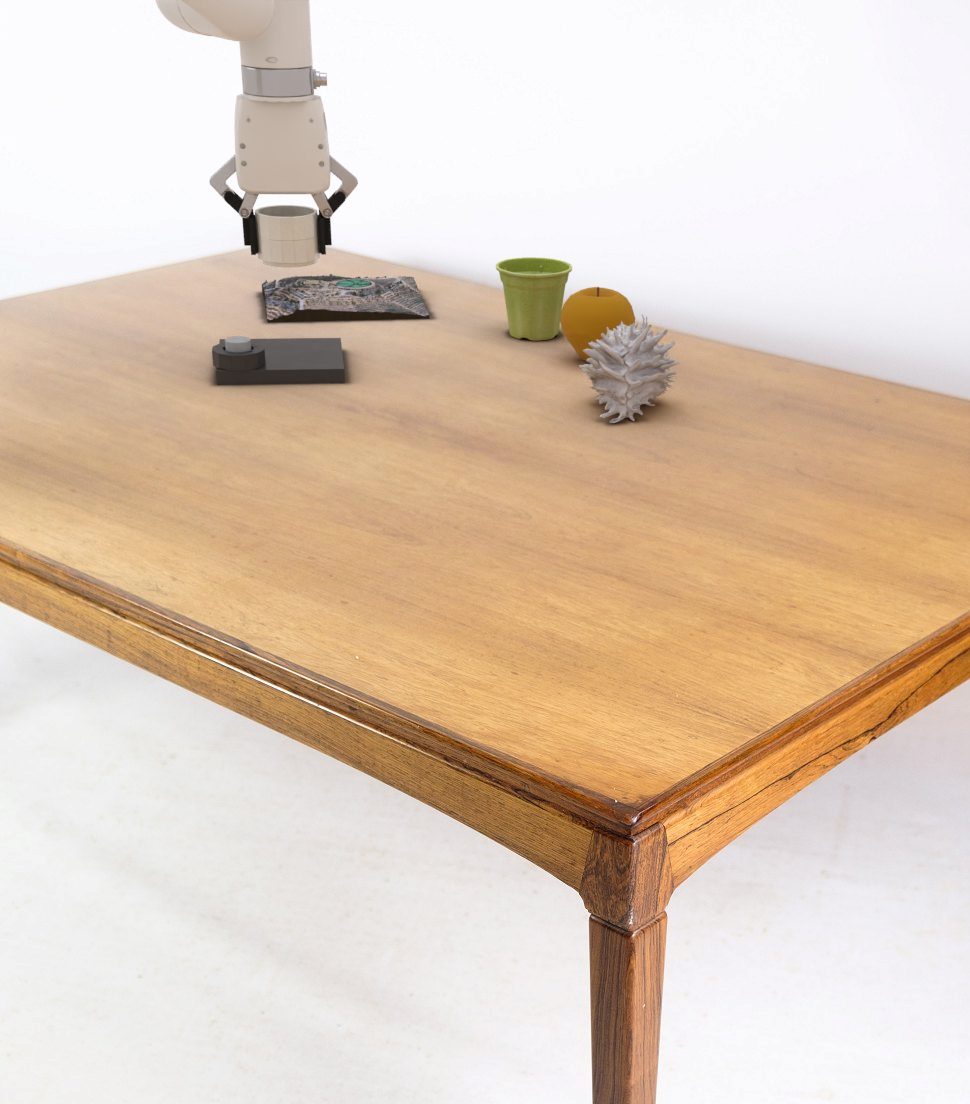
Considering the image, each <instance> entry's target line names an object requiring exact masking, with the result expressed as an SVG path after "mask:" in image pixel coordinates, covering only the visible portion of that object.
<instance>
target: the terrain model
mask: <svg viewBox="0 0 970 1104" xmlns="http://www.w3.org/2000/svg"><path fill="white" fill-rule="evenodd" d="M261 294H262V297H263V301H264V305H265V311H266V320H267V323H268V324H270V323H273V324H274V323H277V324H278V323H307V322H308V323H313V322H315V323H317V322H353V321H354V322H355V321H356V322H357V321H393V320H395V321H396V320H398V321H399V320H428V319H430V314H429V312H428V309H427V307H426V305H425V302H424V300H423V298H422V295H421V293H420V290H419V288H418V285H417V282H416V280H415V277H413V276H406V275H403V276H402V275H400V276H387V275H385V276H382V277H380V276H377V277H368V276H364V277H361V276H355V277H346V276H340V275H333V274H332V273H330V274H329V275H303V276H301V275H300V276H298V275H295V276H290V277H284V278H280V279H274V280H271V281H268V280H266V279H265V281H264V282H262V283H261Z"/></svg>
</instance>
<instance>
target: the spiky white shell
mask: <svg viewBox="0 0 970 1104" xmlns="http://www.w3.org/2000/svg"><path fill="white" fill-rule="evenodd" d="M641 316H642V324H641V326H640V327H638V326H639V322H638V321H635V326H634V323H633V324H632V325H631V326H627V325H624V324H623V322H622V320H621V324H620V325H619V326H616V327H617V330H616V329H615V328H613V331H611V330H609V328H608V327H607V334H606V335H604V333H602V334H601V336H602V338H603V340H598V339H597V340H596V342H597V343H594V342H593V341H591V343H588V344H589V346H591V347H592V348H593V349H584V350H583V352H584V353H586V354H587V355H588V356H590V357H591V358H588V359H587V360H586V361H587V362H589V363H587V362H586V361H585V362H586V363H583V364H579V365H578V368H579V369H580V370H581V371H582V372H583V373H584V374H585V376H588V377H587V379H588V380H590V381H591V384H592V385H591V386H589V388H590V389H592V390H595V392H596V393H598V394H599V395H598V396H597V397H596V398H595V400H597V401H598V404H599V405H603V404H606V405H605V406H604V410H605V411H607V412H604V413H601V414H600V415H599V418H600V419H606V418H609V417H611V416H614V415H616V414H619V415H618V417H615V418H612V419H611V420H609V422H608V423H609V424H615V423H618V422H620V421H623V420H624V419H625V418H626V419H628V418H629V419H630V420H631V421H632V422H635V417H634V414H639V415H640V416H643V415H644V413H643V411H642V410H641V406H642V405H646V406H650V407H654V406H656V404H655V403H651V401H654V400H656V398H657V397H660V396H662V395H664V394H666V392H668V389H667V388H670V389H673V386H672V385H671V384H670V383H676V382H677V381H676V380H673V379H674V378H675V377H676V375H677V369H675V370H670V368H672V367H674V366H677V365H679V364H680V363H681V362H680V361H679V360H675V359H674V358H671V357H668V356H669V354H670V351H669V350H670V349H672V348H673V347H674V346H675V345H676V341H675V340H672V341H670V342H669V343H666V344H665V343H660V344H659V342H660V341H661V340H662V339H663V338H664V337H665V335H667V333H668V329H665V330H663V331H662V332H659V331H657V332H656V335H654V331H653V330H650V329H651V328H652V324H649V322H648V316H646V317H644V314H641Z"/></svg>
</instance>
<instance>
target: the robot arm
mask: <svg viewBox="0 0 970 1104" xmlns="http://www.w3.org/2000/svg"><path fill="white" fill-rule="evenodd" d="M155 3H156V5H157V8H158V10H159V11H160V14H162V16H163V17H164V18H165V19H166V20H167V21H168V22H170V23H171V24H172V25H173V26H175V27H177V28H178V29H180V30H183V31H185V32H188V33H192V34H195V35H202V36H206V37H215V38H218V39H223V40H226V41H233V42H238V43H239V56H240V71H241V83H242V93H241V94H237V95H236V98H235V105H234V106H235V108H234V154H233V155H232V156H231V157H230V158H229V159H228V160H227V161H226V162H225V163H224V164H223V165H222V166H221V167H220V168H219V169H217V170H216V171H215V172H214V173H213V174H212V175H211V176H210V177H209V185H210V186H211V187H212V188H213V189H214V190H215V192H217V193H218V195H219V196H221V197H222V199H224V202H226V204H227V205H229V206H230V207H231V208H232V209H233V210H234V211H235V212H236V213H237V214H238V215H239V216H240V217H241V220H242V233H243V234H242V235H243V245H244V246H247V247H249V246H250V255H251V256H256V255H258V249H257V235H256V221H255V212H254V207H255V204H256V202H257V199H258V198H259V195H311V197H312V198H313V200H314V203H315V204H316V206H317V208H318V214H317V215H318V236H319V253H320V254H321V255H323V256H326V255H327V248H326V246H332V245H333V244H332V225H331V224H332V223H331V218H332V216H333V215H334V213H336V211H338V209H339V208H340V207H341V206H342V205H343V204H344V203H345V201H346V200H347V198H348V197H349V196H350V195H351V194H352V192H353V191H354V190H355V189H356V187H357V186H358V185H359V181H358V178H357V176H355V175H354V174H353V172H351V171H349V169H347V168H346V167H345V166H344V165H342V164H341V163H340V162H339V161H338V160H337V159H336V158H334V157H333V156H332V155H331V153H330V145H329V144H330V143H329V133H328V127H327V126H328V125H327V119H326V113H325V108H324V103H323V100H322V97H321V95H317V94H315V90H317V88H321V87H327V86H328V76H327V72H320V71H316V68H314V67H313V64H314V63H313V47H312V46H313V45H312V44H313V43H312V26H311V9H310V8H311V7H310V0H155ZM233 174H236V181H237V185H238V187H239V189H240V190H241V191H243V192H244V195H243V197H241V196H240V195H239V194H238V193H237V192H235V190H233V189H232V188H231V187H230V186H229V185H228V183H227V181H228V179H230V178H231V176H233ZM331 174H333V175H334V176H335V177H336V178H337V179H339V180H340V181H341V184H340V186H339V187H338V188H337V189H336V190H335V191H334V192H333V193H332V194H331V195H330V196H329V197H328V196H327V195H326V193H325V192H327V191H328V190H329V189H330V187H331ZM321 255H320V256H321Z"/></svg>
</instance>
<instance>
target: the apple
mask: <svg viewBox="0 0 970 1104" xmlns="http://www.w3.org/2000/svg"><path fill="white" fill-rule="evenodd" d="M621 320H622V322H623V324H624V325H627V326H631V325H632V324H633V323H634V326H635V324H636V316H635V311H634V309H633V306H632V304H631V303H630V301H629V298H627V297H626V296H624V294H622V293H621V292H619V291H617V290H615V289H611V288H606V287H600V286H591V287H587V288H586V287H585V288H583V289H580V290H578V291H576V292H574V293H572V294H570V295H569V297H568V298H567V299H566V300H565V301H564V302H563V305H562V311H561V316H560V328H561V330H562V332H563V334H564V335H565V338H566V339H567V341H568V342H569V344H570V345H571V347H572V348H573V349H574V351H575V353H576V354H577V355H578V356H579V357H580V359H581V360H582V361H584V362H586V364H590V363H589V362H587V361H586V360H587V359H588V358H591V357H590V356H588V355H587V354H586V353H584V352H583V350H584V349H593V348H592V347H591V346H589V344H588V343H591V341H593V342H594V343H597V342H596V340H597V339H598V340H603V338H602V336H601V334H602V333H604V335H606V334H607V327H608V328H609V330H611V331H613V328H615V329H616V330H617V327H616V326H619V325H620V324H621Z"/></svg>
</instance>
